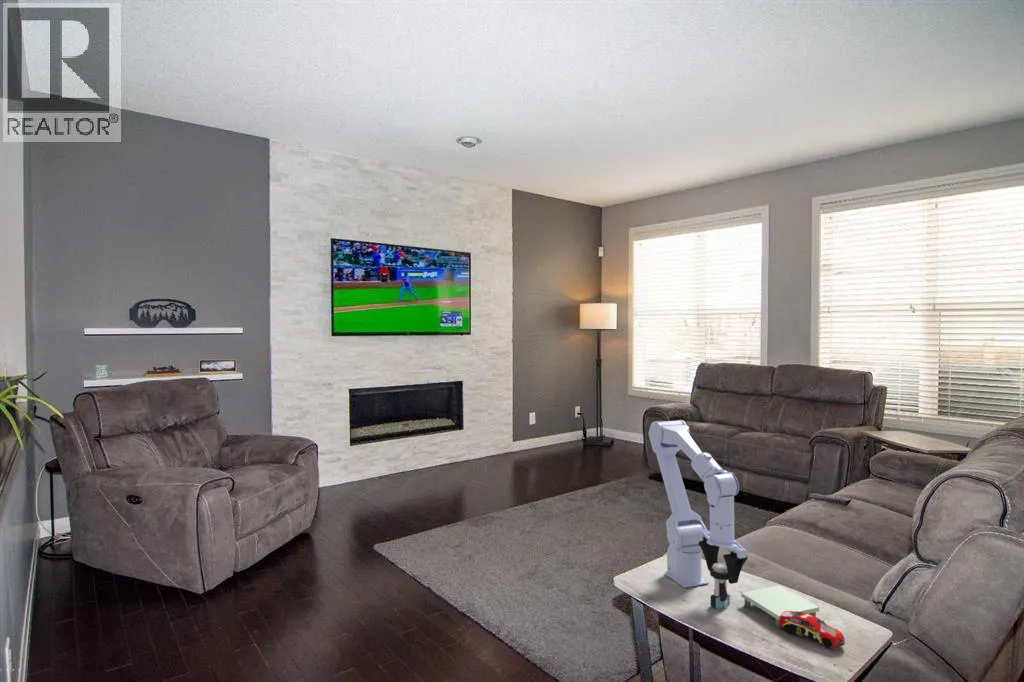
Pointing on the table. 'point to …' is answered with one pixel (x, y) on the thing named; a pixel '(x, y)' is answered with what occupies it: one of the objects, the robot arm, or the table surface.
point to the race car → (811, 628)
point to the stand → (778, 602)
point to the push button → (720, 586)
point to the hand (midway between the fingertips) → (722, 576)
